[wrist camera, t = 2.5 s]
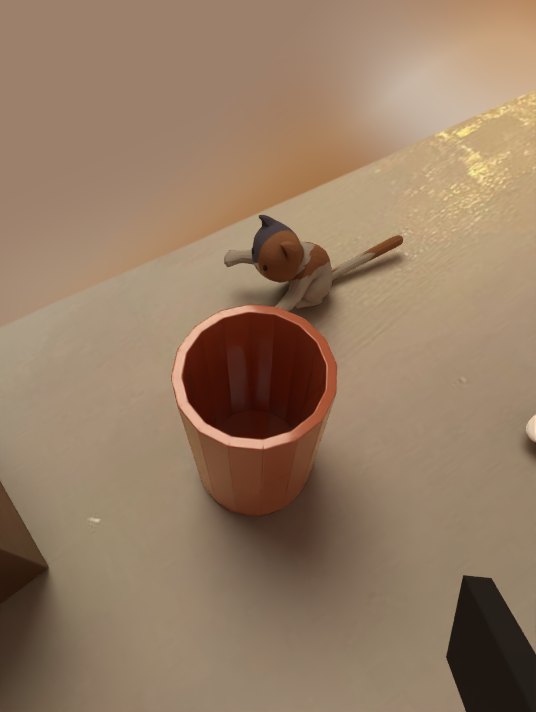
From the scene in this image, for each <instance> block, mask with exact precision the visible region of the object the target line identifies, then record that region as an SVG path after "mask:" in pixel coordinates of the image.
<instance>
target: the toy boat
mask: <svg viewBox="0 0 536 712" xmlns="http://www.w3.org/2000/svg"><path fill="white" fill-rule="evenodd" d="M526 433H527V435H528V437H529V438H530V439H531V440H532V441H534V442H535V443H536V414H535V415H534V416H533V417H532V418H531V419H530V420H529V422H528V423H527V425H526Z"/></svg>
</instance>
